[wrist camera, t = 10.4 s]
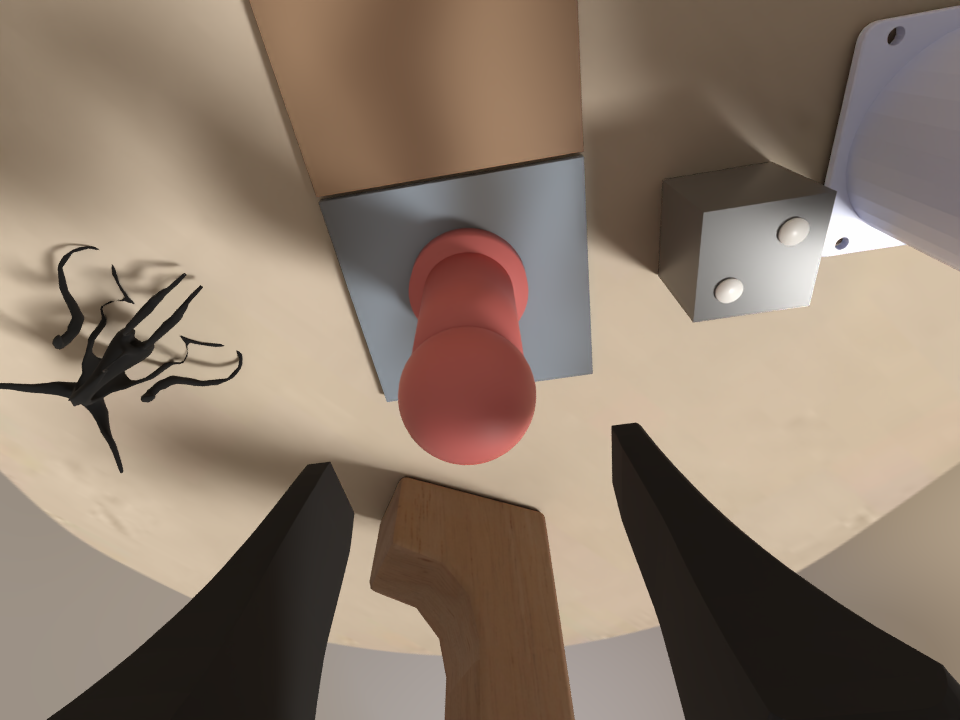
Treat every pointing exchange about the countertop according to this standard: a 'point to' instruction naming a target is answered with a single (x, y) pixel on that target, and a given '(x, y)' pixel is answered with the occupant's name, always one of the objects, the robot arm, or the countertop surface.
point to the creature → (115, 358)
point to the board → (442, 152)
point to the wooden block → (479, 599)
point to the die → (742, 240)
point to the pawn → (467, 349)
